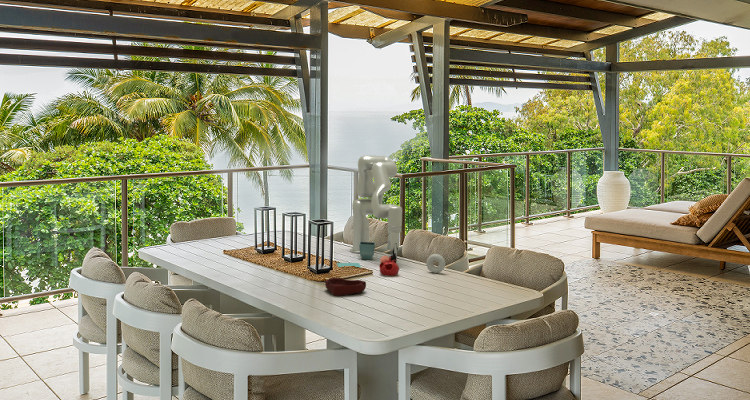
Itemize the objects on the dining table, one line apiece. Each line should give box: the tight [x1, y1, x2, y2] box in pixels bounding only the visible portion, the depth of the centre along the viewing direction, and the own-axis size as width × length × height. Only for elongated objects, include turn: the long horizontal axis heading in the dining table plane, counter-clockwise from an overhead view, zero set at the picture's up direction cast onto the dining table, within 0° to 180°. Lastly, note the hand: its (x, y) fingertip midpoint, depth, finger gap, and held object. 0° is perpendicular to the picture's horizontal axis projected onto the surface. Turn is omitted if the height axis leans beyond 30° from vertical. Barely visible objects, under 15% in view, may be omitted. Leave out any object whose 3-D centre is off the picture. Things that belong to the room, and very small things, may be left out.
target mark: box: [336, 262, 362, 269], centre depth 353 cm, size 12×12×1 cm
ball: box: [379, 255, 390, 263], centre depth 355 cm, size 6×6×6 cm
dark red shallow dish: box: [324, 277, 367, 297], centre depth 292 cm, size 18×16×5 cm
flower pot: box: [359, 241, 376, 261], centre depth 373 cm, size 9×9×9 cm
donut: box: [425, 253, 446, 274], centre depth 341 cm, size 10×4×10 cm, turn 69°
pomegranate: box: [378, 256, 400, 277], centre depth 333 cm, size 10×10×9 cm
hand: (393, 263), depth 356 cm, fingers closed
